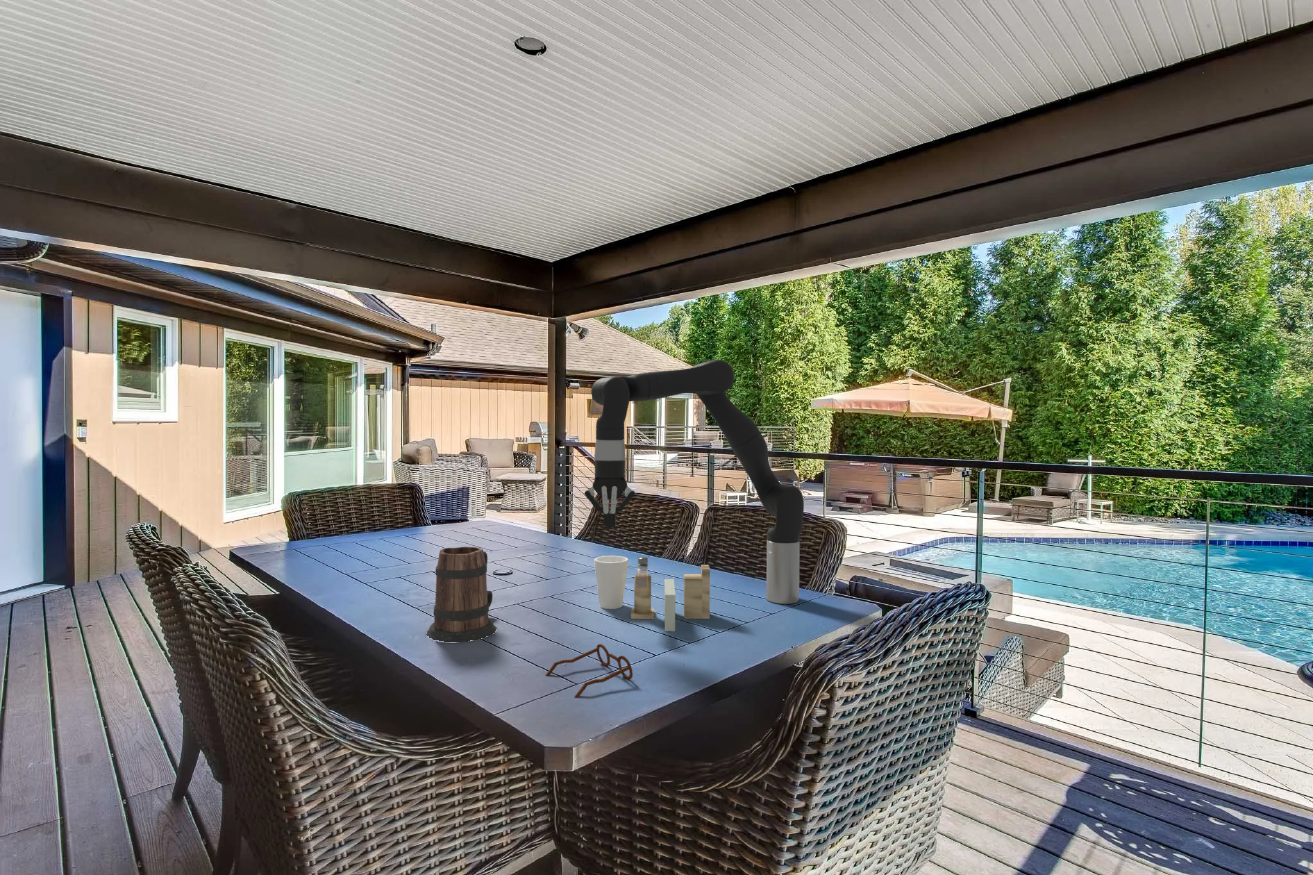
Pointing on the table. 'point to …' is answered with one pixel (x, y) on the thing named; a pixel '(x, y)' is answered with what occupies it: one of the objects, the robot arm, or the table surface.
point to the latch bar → (642, 573)
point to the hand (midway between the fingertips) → (609, 528)
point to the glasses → (621, 671)
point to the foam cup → (611, 580)
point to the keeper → (697, 594)
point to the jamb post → (642, 602)
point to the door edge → (669, 604)
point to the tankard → (461, 596)
